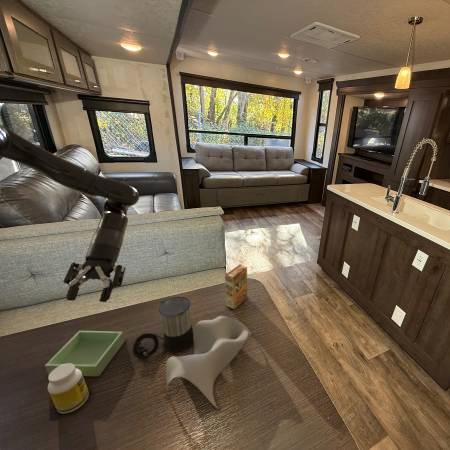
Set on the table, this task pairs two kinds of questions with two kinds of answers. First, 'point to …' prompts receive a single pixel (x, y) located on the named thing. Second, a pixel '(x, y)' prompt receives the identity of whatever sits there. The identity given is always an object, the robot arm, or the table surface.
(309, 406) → the table surface
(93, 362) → the shallow green tray
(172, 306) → the milk frother
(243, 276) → the candy box
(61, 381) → the pill bottle
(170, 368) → the sculpture
